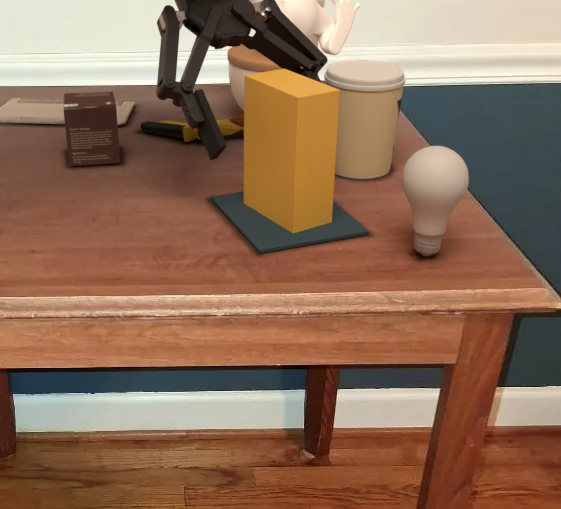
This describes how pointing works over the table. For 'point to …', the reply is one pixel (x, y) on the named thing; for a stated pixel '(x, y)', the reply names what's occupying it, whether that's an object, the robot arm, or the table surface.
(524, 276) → the table surface
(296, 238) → the slate mat
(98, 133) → the box
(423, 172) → the lightbulb
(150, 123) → the toy gun
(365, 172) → the coffee cup
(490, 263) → the table surface
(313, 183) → the cereal box
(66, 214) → the table surface
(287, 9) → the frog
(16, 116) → the grooming comb
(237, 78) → the lidded bowl
